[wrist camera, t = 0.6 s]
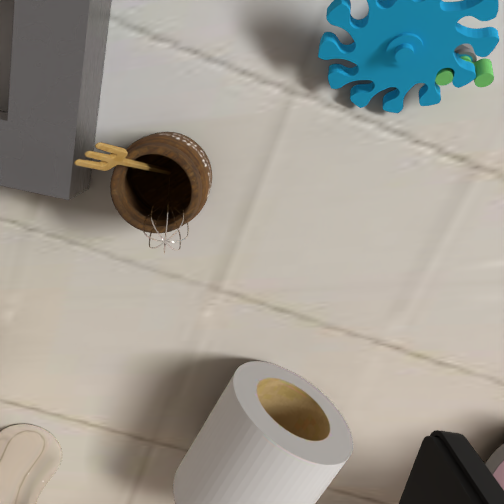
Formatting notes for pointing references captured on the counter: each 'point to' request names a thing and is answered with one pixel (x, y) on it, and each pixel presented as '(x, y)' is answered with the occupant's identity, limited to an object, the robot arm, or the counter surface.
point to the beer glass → (26, 462)
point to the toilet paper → (265, 442)
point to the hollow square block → (53, 95)
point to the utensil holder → (156, 181)
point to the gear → (410, 48)
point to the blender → (497, 465)
